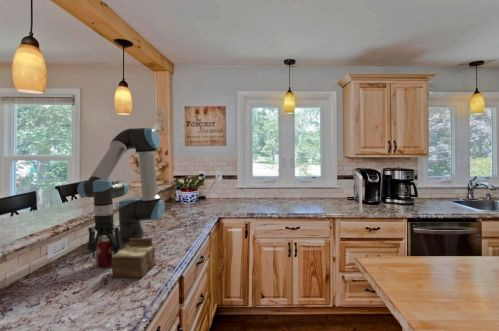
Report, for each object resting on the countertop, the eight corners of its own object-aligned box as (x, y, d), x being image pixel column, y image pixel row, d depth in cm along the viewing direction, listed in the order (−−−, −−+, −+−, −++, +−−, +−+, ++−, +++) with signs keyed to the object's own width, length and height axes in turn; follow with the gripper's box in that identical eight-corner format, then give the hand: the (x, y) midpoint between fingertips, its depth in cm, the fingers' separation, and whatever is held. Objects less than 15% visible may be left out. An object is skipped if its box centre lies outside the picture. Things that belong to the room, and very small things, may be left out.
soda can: (95, 270, 127) (94, 242, 126) (99, 263, 134) (98, 238, 133) (113, 267, 129) (112, 241, 128) (116, 261, 136) (115, 236, 135)
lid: (128, 246, 132) (128, 238, 131) (154, 246, 131) (154, 238, 131) (112, 257, 118) (111, 248, 117) (141, 258, 117) (140, 248, 117)
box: (129, 265, 132) (128, 247, 131) (155, 265, 131) (154, 247, 130) (112, 278, 118) (111, 259, 117) (141, 278, 117) (140, 259, 116)
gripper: (76, 216, 127) (79, 267, 128) (121, 215, 126) (123, 267, 127) (87, 212, 134) (89, 261, 135) (129, 212, 133) (131, 261, 134)
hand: (106, 264), depth 131 cm, fingers closed on soda can, 7 cm apart
